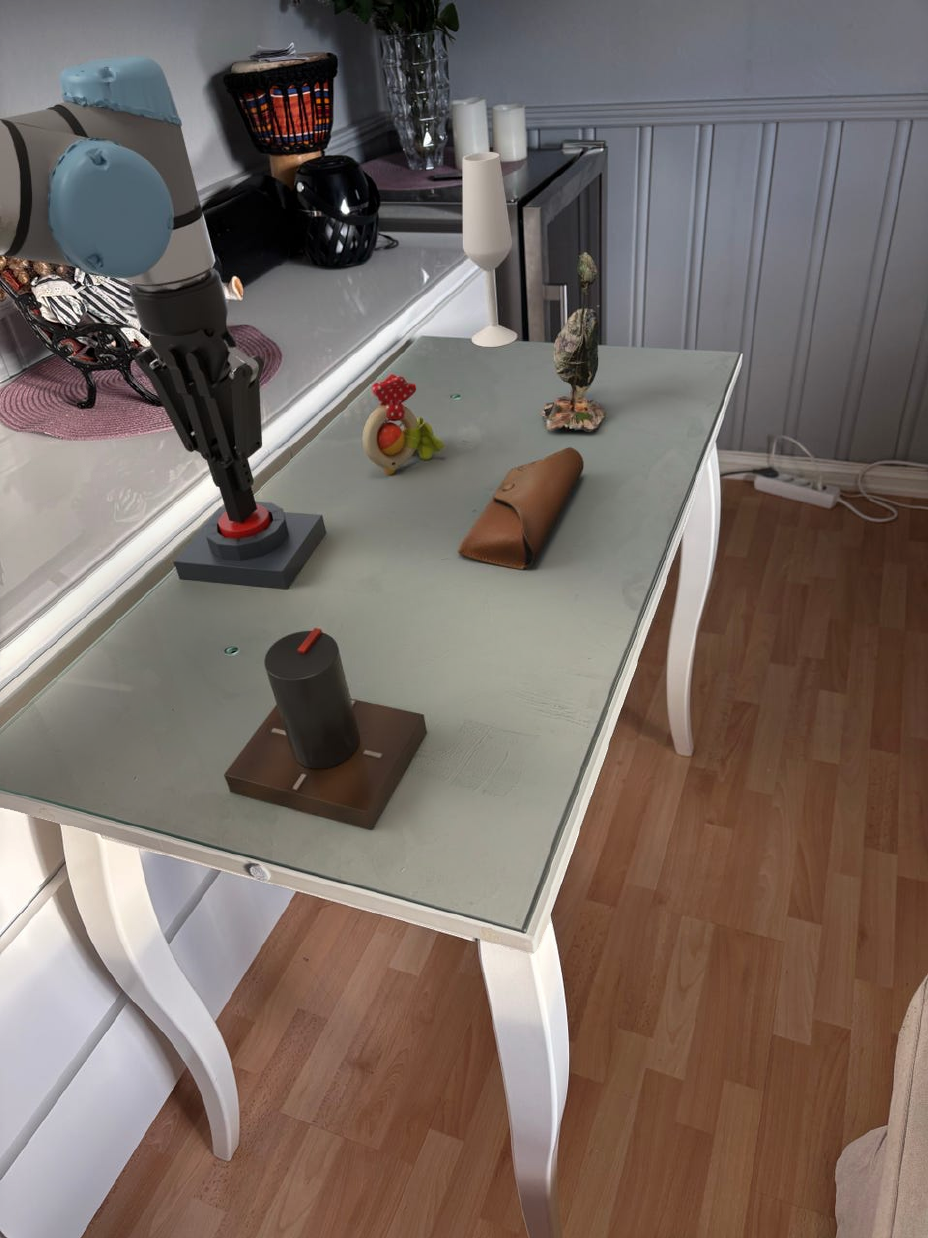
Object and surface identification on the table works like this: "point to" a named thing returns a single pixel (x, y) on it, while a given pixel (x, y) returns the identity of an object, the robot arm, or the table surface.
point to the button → (245, 524)
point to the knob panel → (336, 790)
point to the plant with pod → (577, 362)
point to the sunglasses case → (523, 511)
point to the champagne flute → (486, 233)
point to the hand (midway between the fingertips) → (243, 514)
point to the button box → (252, 551)
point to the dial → (313, 698)
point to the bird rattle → (396, 427)
